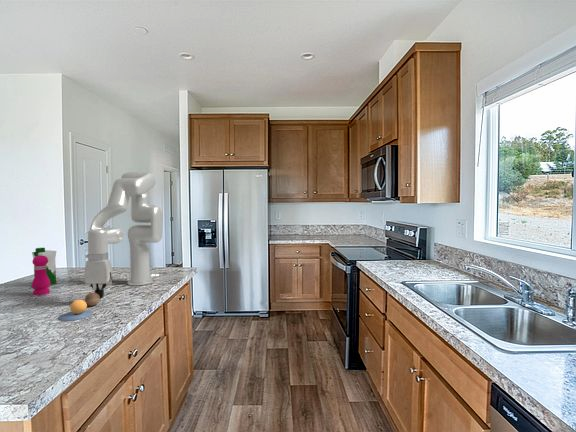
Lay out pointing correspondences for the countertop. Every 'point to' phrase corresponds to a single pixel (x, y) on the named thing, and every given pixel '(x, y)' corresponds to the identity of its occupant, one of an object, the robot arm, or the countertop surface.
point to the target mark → (74, 316)
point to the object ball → (78, 306)
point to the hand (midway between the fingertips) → (99, 298)
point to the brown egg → (92, 299)
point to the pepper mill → (40, 275)
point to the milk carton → (50, 265)
